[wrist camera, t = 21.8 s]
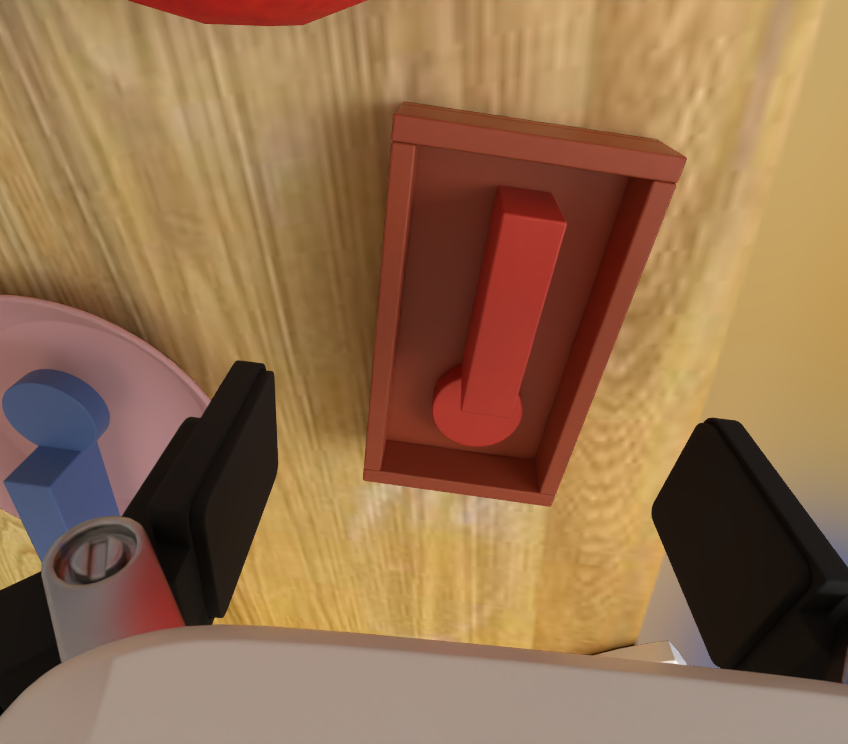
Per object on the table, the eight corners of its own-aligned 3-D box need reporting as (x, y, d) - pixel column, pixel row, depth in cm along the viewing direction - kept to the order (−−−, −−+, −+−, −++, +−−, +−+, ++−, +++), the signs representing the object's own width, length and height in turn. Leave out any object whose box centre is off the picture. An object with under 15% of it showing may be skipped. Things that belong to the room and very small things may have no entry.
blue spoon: (7, 362, 20) (-58, 409, 18) (99, 375, 20) (48, 424, 18) (74, 532, 26) (33, 586, 23) (146, 542, 26) (112, 597, 23)
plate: (-139, 324, 22) (-188, 348, 20) (137, 230, 19) (106, 250, 17) (78, 537, 29) (55, 568, 28) (304, 496, 26) (293, 527, 25)
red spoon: (510, 437, 22) (515, 488, 20) (427, 425, 22) (422, 475, 20) (580, 196, 17) (600, 227, 14) (469, 180, 17) (470, 207, 14)
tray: (543, 464, 24) (551, 507, 22) (371, 439, 24) (362, 481, 22) (658, 139, 16) (688, 157, 14) (403, 101, 16) (393, 113, 14)
